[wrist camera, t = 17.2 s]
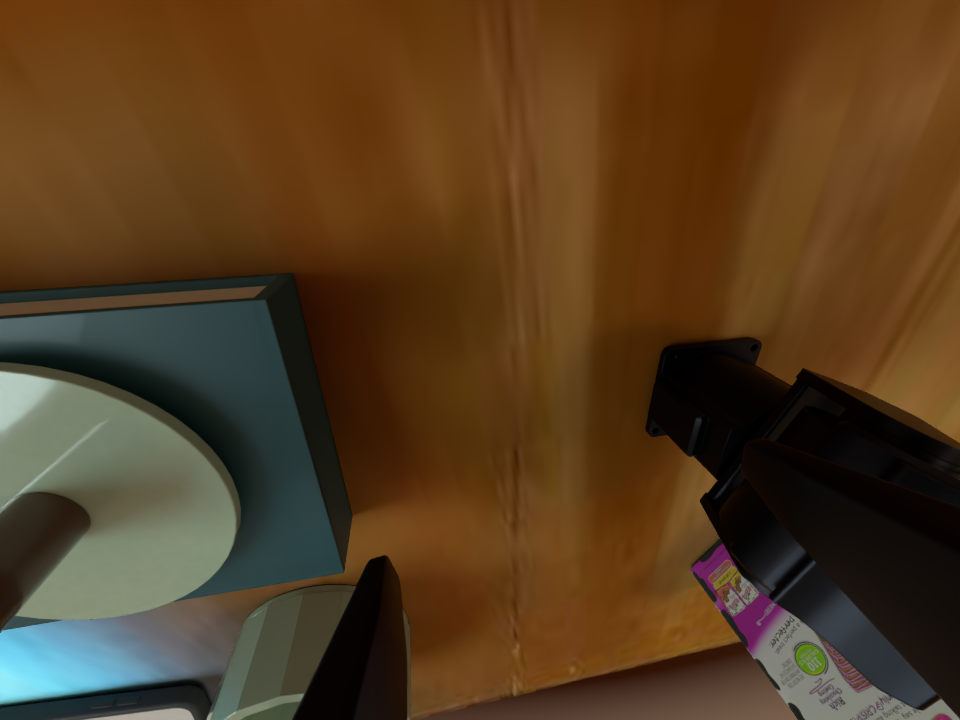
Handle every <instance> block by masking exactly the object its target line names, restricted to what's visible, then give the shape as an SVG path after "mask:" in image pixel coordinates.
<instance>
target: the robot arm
mask: <svg viewBox="0 0 960 720" xmlns="http://www.w3.org/2000/svg"><path fill="white" fill-rule="evenodd" d="M761 345H762V344H761V342H760V341H759V340H757V339H755V338H745V339H735V340H726V341H716V342H706V343H696V344H686V345H676V346H669V347H666V348H665V349H664V350H663V351H662V353H661V357H660V361H659V366H658V371H657V376H656V381H655V384H654V388H653V393H652V398H651V403H650V407H649V412H648V419H647V424H646V432H647V433H648V434H649V435H650V436H652V437H657V436H664V435H668V436H669V437H670V438H671V439H672V440H673V441H674V442H675V443H676V444H677V445H678V447H679V448H680V449H681V450H682V451H683V452H684V453H685V454H686V455H687V456H689V457H691V456H694V457H695V458H696V459H697V460H698V461H699V462H700V463H701V464H702V465H703V466H704V467H705V468H706V469H707V470H708V471H709V472H710V473H711V474H712V475H713V476H714V477H715V478H716V479H717V480H718V481H717V482H716V483H715V484H714V486H713V487H712V488H711V490H710V491H709V492H708V493H705V494H704V495H703V497H702V498H701V499H700V503H701V505H702V506H703V508H704V510H705V512H706V514H707V515H708V517H709V519H710V521H711V523H712V524H713V526H714V528H715V530H716V532H717V534H718V535H719V537H720V539H721V541H722V543H723V544H724V546H725V548H726V550H727V552H728V553H729V555H730V557H731V559H732V560H733V562H734V564H735V565H736V567H737V568H738V570H739V572H740V574H741V575H742V576H743V577H744V578H745V579H746V580H748V581H749V582H750V583H751V584H752V585H753V586H755V587H756V588H757V589H758V590H759V591H760V592H762V593H763V594H764V595H765V596H766V597H768V598H769V599H771V600H772V601H773V602H774V603H776V604H777V605H779V606H780V607H782V608H783V609H785V610H786V611H788V612H789V613H791V614H792V615H794V616H795V617H797V618H798V619H799V620H801V621H802V622H803V623H804V624H806V625H807V626H808V627H809V628H811V629H812V630H813V631H814V632H816V633H817V634H818V635H819V636H821V637H822V638H823V639H824V640H825V641H826V642H827V643H829V644H830V645H831V646H832V647H833V648H834V649H835V650H836V651H837V652H838V653H840V654H841V655H842V656H843V657H844V658H845V659H846V660H847V661H848V662H849V663H850V664H851V665H852V666H853V667H854V668H855V669H856V670H857V671H858V672H859V673H861V674H862V675H863V676H864V677H865V678H866V679H867V680H868V681H869V682H870V683H871V684H872V685H873V686H874V687H876V688H877V689H879V690H880V691H882V692H884V693H886V694H888V695H890V696H891V697H893V698H895V699H897V700H899V701H901V702H903V703H905V704H906V705H908V706H910V707H912V708H914V709H917V710H921V711H923V710H926V709H927V708H929V707H930V706H931V705H933V704H934V703H936V702H937V701H939V700H940V699H942V700H943V701H944V702H945V704H946V705H947V706H948V707H949V708H950V709H951V710H952V711H953V712H954V713H955V714H956V716H957V717H958V718H959V719H960V443H958V442H957V441H955V440H954V439H952V438H950V437H949V436H947V435H946V434H944V433H942V432H941V431H939V430H937V429H936V428H934V427H933V426H931V425H929V424H928V423H926V422H925V421H923V420H921V419H920V418H918V417H916V416H914V415H912V414H910V413H908V412H906V411H904V410H902V409H900V408H898V407H896V406H894V405H891V404H889V403H887V402H885V401H883V400H881V399H879V398H877V397H875V396H873V395H870V394H868V393H866V392H864V391H862V390H859V389H857V388H854V387H851V386H849V385H846V384H844V383H841V382H838V381H836V380H833V379H830V378H828V377H825V376H823V375H820V374H817V373H815V372H812V371H809V370H807V369H804V368H803V369H802V370H801V372H800V373H799V374H798V375H797V377H796V378H797V380H796V381H795V383H794V384H793V385H792V386H791V385H789V384H787V383H786V382H784V381H782V380H780V379H779V378H777V377H775V376H774V375H772V374H770V373H768V372H767V371H765V370H763V369H761V368H760V367H758V366H756V365H755V364H756V361H757V358H758V355H759V352H760V349H761ZM751 346H752V347H751ZM671 353H672V355H671V356H670V357H669V355H670V354H671ZM654 428H655V429H654ZM653 429H654V430H653ZM292 720H407V649H406V638H405V628H404V618H403V608H402V597H401V587H400V581H399V577H398V574H397V573H396V571H395V569H394V567H393V565H392V563H391V561H390V559H389V558H388V556H386V555H383V556H380V557H377V558H373V559H371V560H370V561H369V562H368V563H367V565H366V567H365V569H364V571H363V573H362V575H361V577H360V579H359V581H358V583H357V585H356V587H355V590H354V592H353V594H352V596H351V598H350V600H349V602H348V604H347V606H346V608H345V610H344V612H343V614H342V616H341V619H340V621H339V623H338V625H337V627H336V629H335V631H334V633H333V635H332V637H331V639H330V641H329V643H328V645H327V648H326V650H325V652H324V654H323V656H322V658H321V660H320V662H319V664H318V666H317V668H316V670H315V672H314V674H313V677H312V679H311V681H310V683H309V685H308V687H307V689H306V691H305V693H304V695H303V697H302V699H301V701H300V703H299V706H298V708H297V710H296V712H295V714H294V716H293V718H292Z"/></svg>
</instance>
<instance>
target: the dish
mask: <svg viewBox="0 0 960 720" xmlns="http://www.w3.org/2000/svg"><path fill="white" fill-rule="evenodd" d="M355 587H356V586H350V585H322V586H313V587H308V588H303V589H298V590H295V591H291V592H288V593H285V594H283V595H280V596H278V597H276V598H274V599H272V600H270V601H268V602H266V603H264V604H263V605H261V606H260V607H258V608H257V609H256V610H255V611H254V612H252V613H251V614H250V616H249V617H248V618H247V619H246V620H245V622H244V623H243V625H242V626H241V629H240V631H239V634H238V636H237V638H236V640H235V642H234V644H233V647H232V650H231V653H230V656H229V658H228V661H227V664H226V667H225V670H224V672H223V675H222V678H221V681H220V684H219V686H218V689H217V692H216V695H215V698H214V701H213V703H212V706H211V709H210V712H209V715H208V717H207V720H292V718H293V716H294V714H295V712H296V710H297V708H298V706H299V703H300V701H301V699H302V697H303V695H304V693H305V691H306V689H307V687H308V685H309V683H310V681H311V679H312V677H313V674H314V672H315V670H316V668H317V666H318V664H319V662H320V660H321V658H322V656H323V654H324V652H325V650H326V648H327V645H328V643H329V641H330V639H331V637H332V635H333V633H334V631H335V629H336V627H337V625H338V623H339V621H340V619H341V616H342V614H343V612H344V610H345V608H346V606H347V604H348V602H349V600H350V598H351V596H352V594H353V592H354V590H355ZM403 618H404V628H405V638H406V649H407V720H411V663H410V626H409V621H408V617H407V615H406V613H405V611H404V610H403Z"/></svg>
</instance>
